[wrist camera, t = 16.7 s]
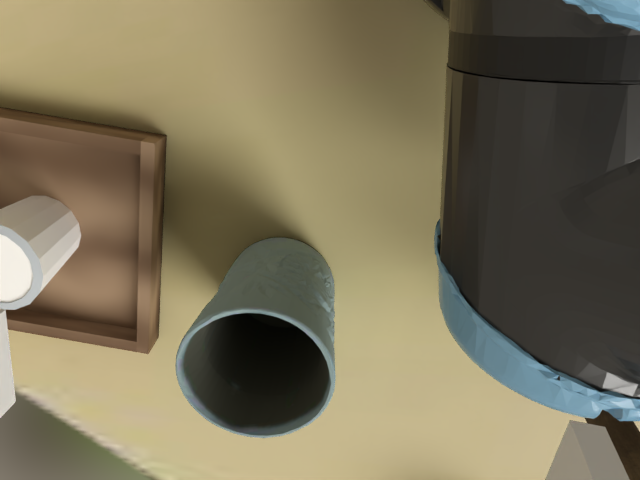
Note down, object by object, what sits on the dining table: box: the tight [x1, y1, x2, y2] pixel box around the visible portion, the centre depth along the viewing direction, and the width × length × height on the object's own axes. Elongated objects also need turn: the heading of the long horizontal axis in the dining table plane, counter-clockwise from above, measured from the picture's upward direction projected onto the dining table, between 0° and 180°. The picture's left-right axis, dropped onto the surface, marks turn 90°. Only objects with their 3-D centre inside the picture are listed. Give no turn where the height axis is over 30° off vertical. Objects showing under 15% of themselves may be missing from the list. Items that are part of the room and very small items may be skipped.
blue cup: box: [176, 237, 335, 438], centre depth 41 cm, size 10×10×12 cm
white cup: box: [0, 196, 81, 310], centre depth 42 cm, size 7×7×7 cm
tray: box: [0, 107, 167, 354], centre depth 45 cm, size 18×18×2 cm
